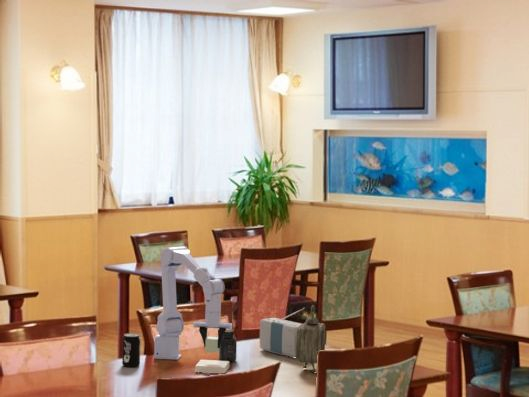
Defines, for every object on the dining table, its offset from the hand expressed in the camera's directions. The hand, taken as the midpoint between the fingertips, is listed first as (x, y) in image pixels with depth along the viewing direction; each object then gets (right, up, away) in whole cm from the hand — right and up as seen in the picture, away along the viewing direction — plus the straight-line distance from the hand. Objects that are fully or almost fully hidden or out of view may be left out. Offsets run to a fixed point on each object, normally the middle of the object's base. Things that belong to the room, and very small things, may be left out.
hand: (212, 347), depth 401 cm
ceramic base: (0, -9, 0) cm, 9 cm away
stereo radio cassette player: (+27, -8, +33) cm, 43 cm away
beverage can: (-31, -8, +2) cm, 32 cm away
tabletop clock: (+37, -10, +4) cm, 38 cm away
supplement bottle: (+5, -8, +16) cm, 19 cm away
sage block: (0, -2, 0) cm, 2 cm away
